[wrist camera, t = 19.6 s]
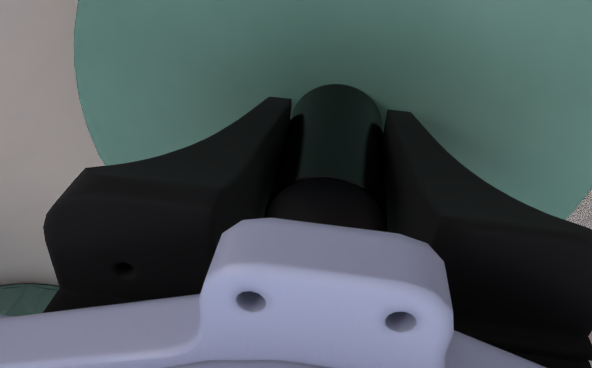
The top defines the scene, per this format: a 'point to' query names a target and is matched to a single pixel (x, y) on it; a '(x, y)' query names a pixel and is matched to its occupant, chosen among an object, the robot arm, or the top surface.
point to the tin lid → (349, 90)
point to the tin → (25, 299)
